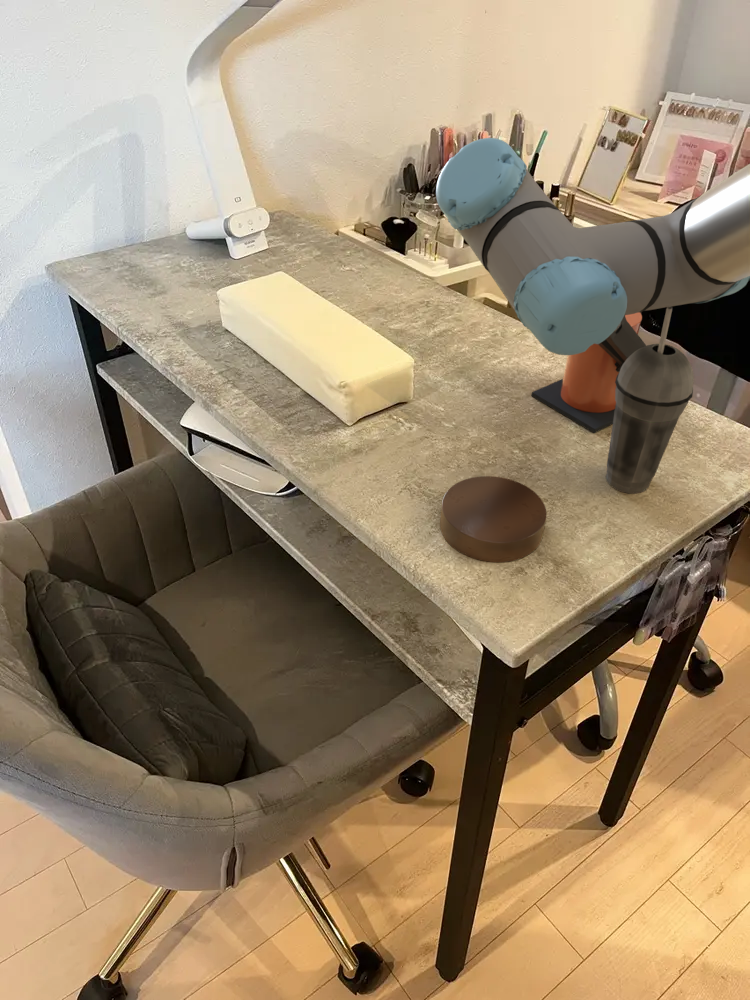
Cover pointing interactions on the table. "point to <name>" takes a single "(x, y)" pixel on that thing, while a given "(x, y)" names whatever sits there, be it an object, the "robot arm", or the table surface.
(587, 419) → the mat
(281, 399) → the table surface
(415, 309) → the table surface
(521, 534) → the saucer
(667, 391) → the beverage cup
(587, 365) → the terracotta cylinder
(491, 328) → the table surface
